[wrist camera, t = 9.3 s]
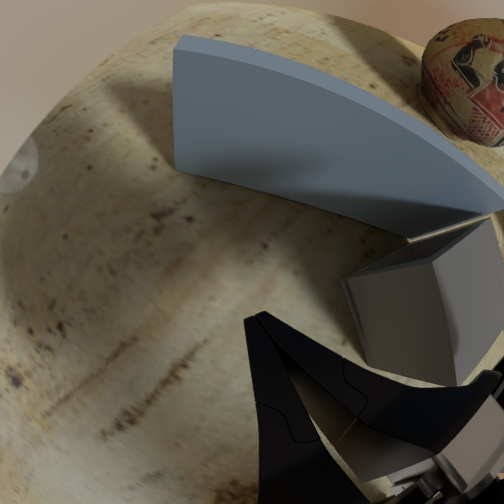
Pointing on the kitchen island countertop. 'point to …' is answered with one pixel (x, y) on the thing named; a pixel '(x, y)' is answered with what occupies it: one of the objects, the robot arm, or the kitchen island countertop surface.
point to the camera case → (431, 305)
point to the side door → (318, 142)
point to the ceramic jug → (466, 81)
